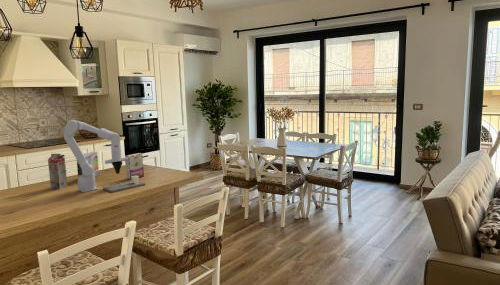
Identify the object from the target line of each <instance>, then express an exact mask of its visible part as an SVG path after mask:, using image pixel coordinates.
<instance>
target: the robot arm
mask: <svg viewBox="0 0 500 285" xmlns="http://www.w3.org/2000/svg"><path fill="white" fill-rule="evenodd" d="M77 130H80V131H81V130H85V131H88V132H90V133H94V134H96V135H97V136H98V137H99V138H101V139H104V140H107V141H110V143H111V144H110V152H111V153H110V154H111V159H106V160H104V164H105V165H108V164H111V166H113V169H114V171H115V174H117V175H118V174H119V175H120V171H121V168H122V166H123V162H125V161H128V158H127V157H126V158H125V157H122V145H121V140H122V139H121V136H120V134H118V133H117V132H114V131H110V130H108V129H107V128H106V127H104V128H101V127H100V128H98V127H96V126H92V124H91V125H90V124H89V123H86V122H83V121H81V120H76V119H70V120H68V121H67V123H66V124H65V127H64V130H63V131H64V132H63V138H64V141H65V143H66V144H67V146H68V147H69V149H70V151H71V152H72V154H73V156H74V157H75V159H76V162H77V161H78V162H79V164H80V167H81V169H82V176H81V177H79V178H78V177H77V187H78V188H77V190H78V191H79V192H81V193H86V192H91V191H94V190H95V191H96V190H99V188H98V187H97V186H96V177H95V174H94V173H93V166H92V165H91V164H90V163H89V162H88V161H87V159H86V158H85V156H84V155H83V154H84V152H82V150H81V147H80V146H79V144H78V143H77V140H75V138H74V135H75V133H76V132H77Z"/></svg>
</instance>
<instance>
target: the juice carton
mask: <svg viewBox="0 0 500 285" xmlns="http://www.w3.org/2000/svg"><path fill="white" fill-rule="evenodd" d="M47 162H48V163H47V164H48V172H49V174H48V175H49V181H50V182H49V183H50V189H51V190H62V189H64V188H66V187H68V180H67V179H68V177H67V170H66V169H67V168H66V159H65V157H63V156H62V155H61V153H50V157H49V158H48V159H47Z"/></svg>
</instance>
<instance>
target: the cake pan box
mask: <svg viewBox="0 0 500 285" xmlns="http://www.w3.org/2000/svg"><path fill="white" fill-rule="evenodd" d="M83 155H84V156H85V158H86V159H87V161H88V162H89V163H90V164H91V165H92V166H93V173H94V174H95V178H96V177H98V176H99V174H100V173H99V159H98V158H99V157H98V156H99V155H98V151H90V152H88V153H83ZM76 167H77V179H78V178H79V177H81V176H82V169H81V167H80V164H79V162H78V161H77V160H76Z"/></svg>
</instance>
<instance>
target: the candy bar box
mask: <svg viewBox="0 0 500 285" xmlns="http://www.w3.org/2000/svg"><path fill="white" fill-rule="evenodd" d="M126 157H127V158H128V161H124V163H125V171H126V179H127V180H132V179H131V176H139V178H142V177H144V176H145V173H144V170H145V169H144V159H143V153H141V152H138V153H133V154H128V155H124V158H126Z"/></svg>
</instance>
